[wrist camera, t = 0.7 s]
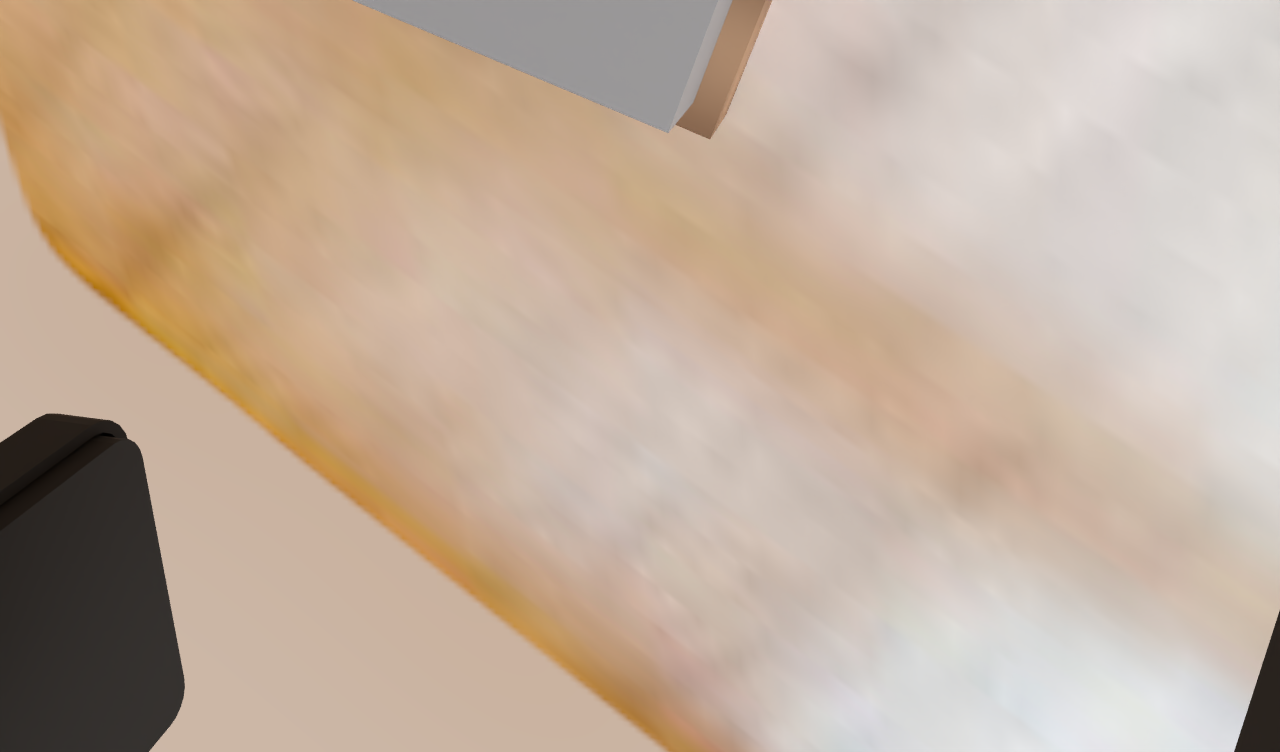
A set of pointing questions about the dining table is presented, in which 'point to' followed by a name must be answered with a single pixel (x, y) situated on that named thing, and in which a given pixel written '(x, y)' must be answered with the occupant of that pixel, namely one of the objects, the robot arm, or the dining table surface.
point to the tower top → (587, 45)
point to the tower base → (725, 66)
